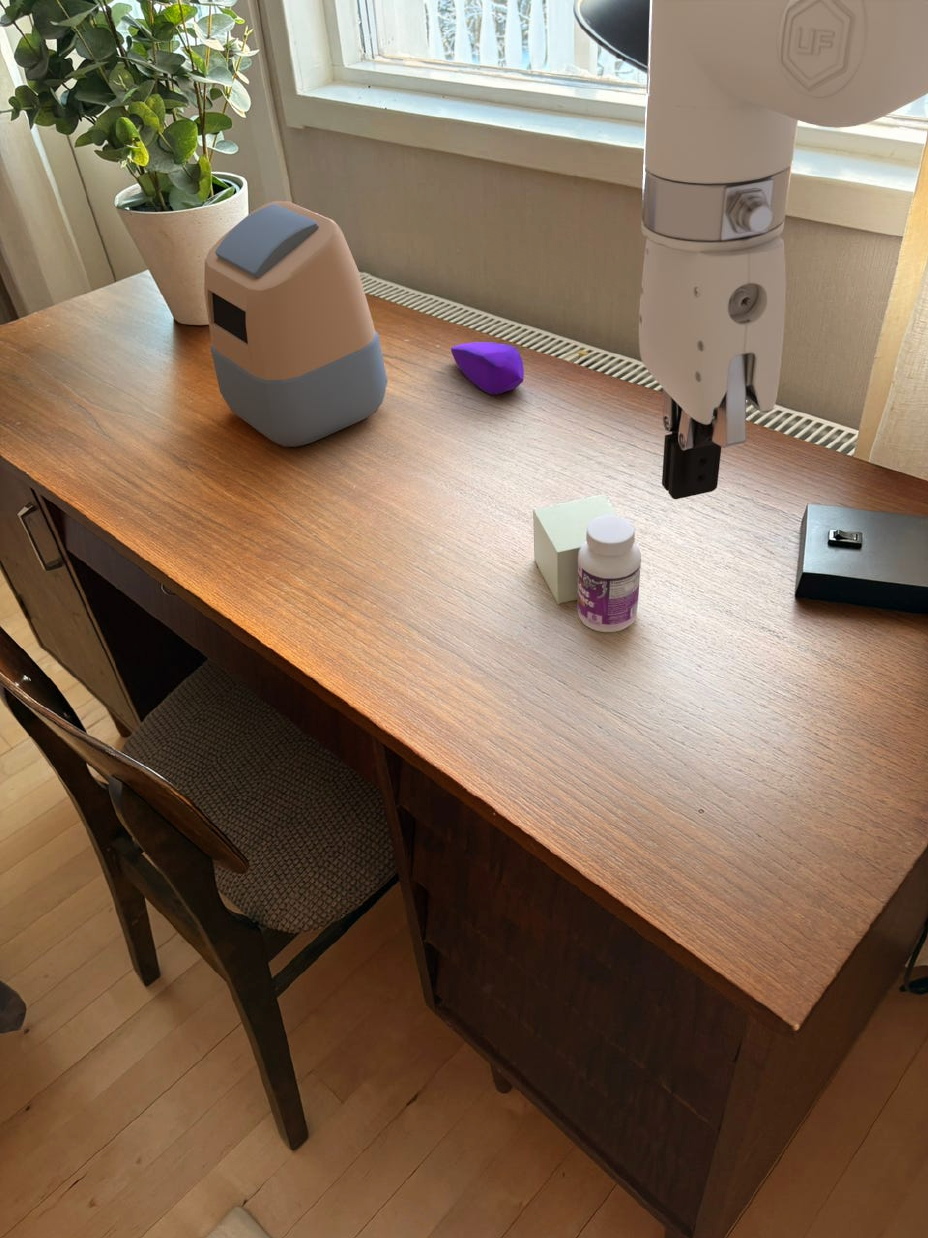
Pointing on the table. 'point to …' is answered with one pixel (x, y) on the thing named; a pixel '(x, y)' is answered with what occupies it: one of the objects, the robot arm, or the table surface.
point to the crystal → (490, 365)
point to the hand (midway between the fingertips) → (689, 488)
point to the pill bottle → (608, 574)
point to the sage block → (564, 541)
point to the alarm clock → (292, 326)
